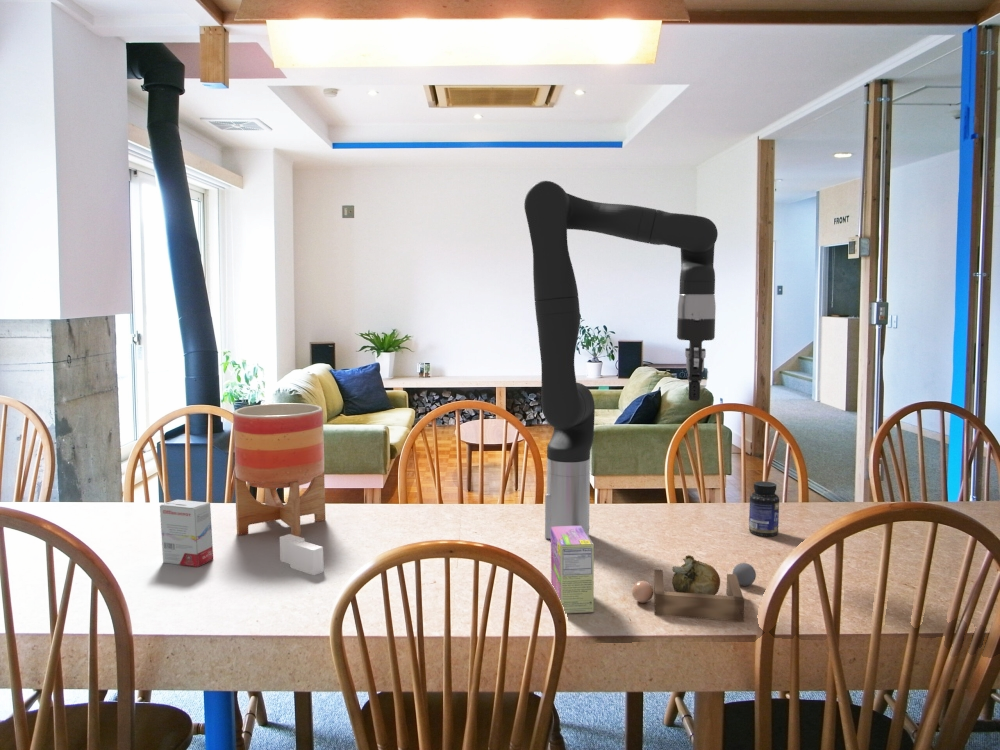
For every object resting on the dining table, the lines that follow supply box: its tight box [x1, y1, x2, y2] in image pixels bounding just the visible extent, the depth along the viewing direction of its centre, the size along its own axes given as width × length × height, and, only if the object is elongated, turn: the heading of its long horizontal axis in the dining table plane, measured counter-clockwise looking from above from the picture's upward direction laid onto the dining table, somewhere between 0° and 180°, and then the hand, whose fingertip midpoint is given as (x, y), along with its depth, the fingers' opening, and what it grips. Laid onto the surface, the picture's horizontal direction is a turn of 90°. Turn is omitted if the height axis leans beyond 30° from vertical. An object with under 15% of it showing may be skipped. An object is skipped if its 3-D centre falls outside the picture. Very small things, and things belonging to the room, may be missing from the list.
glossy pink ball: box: [631, 580, 654, 604], centre depth 131 cm, size 4×4×4 cm
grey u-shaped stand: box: [653, 568, 745, 622], centre depth 130 cm, size 14×12×4 cm
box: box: [550, 526, 595, 615], centre depth 130 cm, size 10×6×12 cm, turn 5°
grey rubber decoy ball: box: [732, 562, 757, 587], centre depth 138 cm, size 4×4×4 cm
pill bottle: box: [748, 480, 780, 538], centre depth 167 cm, size 6×6×11 cm
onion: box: [671, 554, 721, 595], centre depth 131 cm, size 8×8×8 cm
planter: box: [232, 402, 326, 538], centre depth 171 cm, size 20×20×27 cm
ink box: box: [159, 499, 214, 568], centre depth 150 cm, size 9×5×12 cm, turn 71°
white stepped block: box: [279, 533, 325, 576], centre depth 148 cm, size 15×11×6 cm
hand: (693, 400), depth 159 cm, fingers closed
